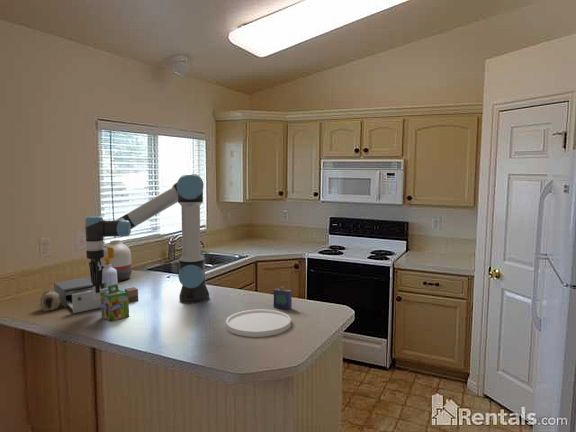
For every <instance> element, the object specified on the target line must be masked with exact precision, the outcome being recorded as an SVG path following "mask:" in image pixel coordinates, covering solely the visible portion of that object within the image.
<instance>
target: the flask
mask: <svg viewBox="0 0 576 432" xmlns="http://www.w3.org/2000/svg"><path fill="white" fill-rule="evenodd" d="M284 288H285V286H280V288H279V287H277V288H274V289H273V308H274V309H278V310H291V309H293V308H292V307H293V306H292V305H293V304H292V302H293V301H292V299H293V298H292V295H293V292H292V290H291V289H284Z"/></svg>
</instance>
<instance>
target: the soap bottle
mask: <svg viewBox="0 0 576 432" xmlns="http://www.w3.org/2000/svg"><path fill="white" fill-rule="evenodd" d="M104 248H107V249H108V257H106V258H101V260H102V259H103V260H105V261H106V263H105V268H103V271H102V281H104V282H105V283H106V288H108V286H111V285H115V284H117V285H118V282H119V281H117V270H116V269H114V268H112V267H111V263H109V261H110V259H113V258H114V249H113V248H111V247H106V246H104ZM104 248H103V249H104ZM113 290H116V288H115V287H113Z"/></svg>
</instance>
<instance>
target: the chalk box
mask: <svg viewBox="0 0 576 432" xmlns="http://www.w3.org/2000/svg"><path fill="white" fill-rule="evenodd" d="M113 287H115V288H116V290H111V288H113ZM108 290H109V291H107V292H103V293H100V296H101V308H100V313H101V318H102V319H105V320H108V321H109V322H114V321H117V320H120V319H121V320H122V319H125V318H128V317H130V306H129V305H130V302H129V300H128V292H125V290H123V289H119V286H118V285H117V284H115V285H111V286H108Z"/></svg>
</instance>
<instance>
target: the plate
mask: <svg viewBox="0 0 576 432" xmlns="http://www.w3.org/2000/svg"><path fill="white" fill-rule="evenodd" d="M291 326H292V318H291V316H289V315H288V314H287V313H285V312H283V311H278V310H274V309H265V308H264V309H260V308H259V309H248V310H243V311H238V312H236V313H233V314H231V315H229V316H228V317H227V318H226V320H225V328H226V329H227V331H229V332H230V333H231V334H235V335H238V336H242V337H251V338H255V337H257V338H258V337H268V336H274V335H279V334H281V333H283V332H286V331H288V329H290V328H291Z"/></svg>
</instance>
